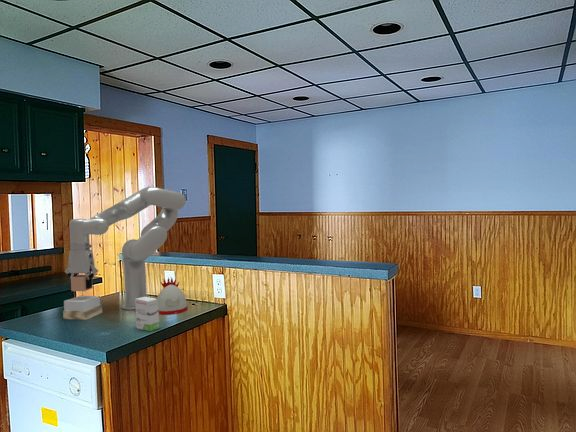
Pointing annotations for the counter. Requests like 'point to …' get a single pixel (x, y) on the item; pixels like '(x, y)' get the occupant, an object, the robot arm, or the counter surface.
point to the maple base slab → (82, 313)
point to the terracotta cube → (79, 283)
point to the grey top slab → (82, 303)
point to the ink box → (147, 313)
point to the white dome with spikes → (171, 299)
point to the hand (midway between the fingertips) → (82, 287)
